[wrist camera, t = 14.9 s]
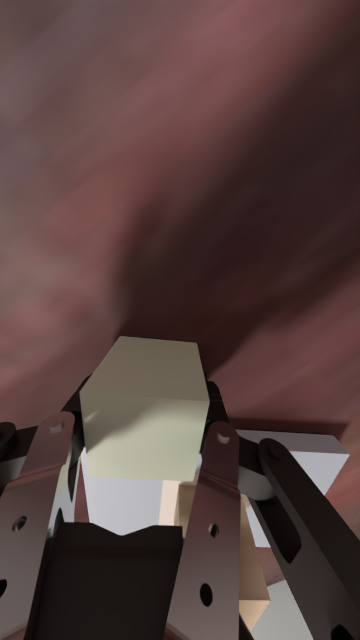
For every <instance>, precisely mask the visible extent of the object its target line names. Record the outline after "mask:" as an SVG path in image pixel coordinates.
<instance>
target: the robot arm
mask: <svg viewBox="0 0 360 640" xmlns="http://www.w3.org/2000/svg"><path fill="white" fill-rule="evenodd" d="M92 374H93V373H92ZM92 374H91V375H92ZM91 375H89V376H88V377H86V378H85V380H84V381H83V382H82V384H81V386H79V388H78V389H77V391H76V392H75V393H74V394H73V396H72V397H71V398H70V399H69V401H68V402H67V403H66V405H65V406H64V407H63V409H62V410H61V411H60V412H58V413H55V414H52V415H50V416H49V417H47V418H46V419H44V420H43V421H42V422H41V423H40V425H39V426H35V427H30V428H25V429H20V430H16V427H15V425H14V424H13V423H11V422H2V423H0V640H254V639H253V637H252V635H251V633H250V631H249V629H248V628H247V626H246V624H245V622H244V620H243V618H242V617H241V615H240V613H239V581H240V522H241V494H244V495H246V496H247V498H248V500H249V502H250V504H251V506H252V508H253V511H254V513H255V515H256V517H257V519H258V521H259V523H260V526H261V528H262V530H263V532H264V534H265V536H266V538H267V541H268V543H269V545H270V547H271V549H272V551H273V553H274V555H275V558H276V560H277V562H278V564H279V566H280V568H281V570H282V573H283V575H284V577H285V579H286V581H287V583H288V585H289V588H290V590H291V592H292V594H293V596H294V598H295V600H296V602H297V605H298V607H299V609H300V611H301V613H302V615H303V617H304V619H305V622H306V624H307V626H308V628H309V630H310V632H311V635H312V637H313V639H314V640H360V540H359V539H358V538H357V537H356V535H355V534H354V533H353V532H352V530H351V529H350V528H349V526H348V525H347V524H346V523H345V521H344V520H343V519H342V518H341V516H340V515H339V514H338V512H337V511H336V510H335V509H334V507H333V506H332V505H331V504H330V502H329V501H328V500H327V499H326V497H325V496H324V495H323V493H322V492H321V491H320V490H319V488H318V487H317V486H316V485H315V483H314V482H313V481H312V479H311V478H310V477H309V476H308V474H307V473H306V472H305V471H304V469H303V468H302V467H301V466H300V464H299V463H298V462H297V460H296V459H295V458H294V457H293V455H292V454H291V453H290V452H289V450H288V449H287V448H286V447H285V446H284V445H283V444H281V443H280V442H278V441H276V440H274V439H271V438H264V439H262V440H260V442H259V444H258V443H256V442H253V441H250V440H248V439H245V438H243V437H241V436H240V435H238V433H237V431H236V430H235V428H234V427H233V426H231V425H230V423H229V420H228V417H227V414H226V410H225V407H224V404H223V401H222V398H221V395H220V391H219V388H218V387H217V385H216V384H215V383H214V382H212V381H207V376H206V373H204V378H205V382H206V387H207V391H208V396H209V400H210V403H209V408H208V413H207V417H206V422H205V427H204V432H203V436H202V441H201V446H200V451H199V454H201V458H202V463H201V467H200V472H199V476H198V481H197V485H196V490H195V494H194V499H193V503H192V508H191V512H190V517H189V522H188V526H187V531H186V535H185V538H184V537H183V526H171V525H152V526H149V527H146V528H143V529H140V530H137V531H134V532H131V533H128V534H125V535H118V534H115V533H113V532H111V531H109V530H107V529H105V528H103V527H100V526H98V525H96V524H94V523H83V522H74V506H75V498H76V490H77V482H78V475H79V467H80V455H81V453H82V451H83V449H84V448H85V439H84V430H83V420H82V411H81V402H80V391H81V389H82V388H83V386H84V385H85V384H86V382H87V381H88V380H89V378H90V377H91Z"/></svg>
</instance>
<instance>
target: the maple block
mask: <svg viewBox="0 0 360 640" xmlns="http://www.w3.org/2000/svg"><path fill="white" fill-rule="evenodd" d="M195 490H196V485H179V486H178V493H177V500H176V507H175V513H174V526H183V537H184V538H185V535H186V531H187V526H188V522H189V517H190V512H191V508H192V503H193V499H194V494H195ZM269 602H270V597H269V594H268V590H267V586H266V583H265V579H264V575H263V571H262V568H261V564H260V560H259V557H258V553H257V549H256V546H255V542H254V538H253V534H252V531H251V527H250V523H249V520H248V516H247V512H246V509H245V505H244V501H243V497H242V494H241V522H240V581H239V613H240V615H241V617H242V618H243V620H244V622H245V624H246V626H247V628H248V629H249V631H250V630H251V629H252V627H253V626H254V625H255V623H256V621H257V620H258V618H259V617H260V615H261V614H262V612H263V611H264V609H265V608H266V606H267V605H268V603H269Z"/></svg>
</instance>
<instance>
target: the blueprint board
mask: <svg viewBox="0 0 360 640" xmlns="http://www.w3.org/2000/svg"><path fill="white" fill-rule="evenodd" d="M235 430H236V429H235ZM236 431H237V433H238V435H240V436H241V437H243V438H245V439H248V440H250V441H253V442H256V443H258V444H259V442H260V440H262V439H264V438H271V439H274V440H276V441H278V442H280V443H281V444H283V445H284V446H285V447H286V448H287V449H288V450H289V452H290V453H291V454H292V455H293V457H294V458H295V459H296V460H297V462H298V463H299V464H300V466H301V467H302V468H303V469H304V471H305V472H306V473H307V474H308V476H309V477H310V478H311V479H312V481H313V482H314V483H315V485H316V486H317V487H318V488H319V490H320V491H321V492H322V493H323V495H325V494H326V492H327V491H328V489H329V487H330V486H331V484H332V483H333V481H334V479H335V478H336V476H337V474H338V473H339V471H340V470H341V468H342V466H343V465H344V463H345V462H346V460H347V458H348V457H349V455H350V454H349V453H348V452H347V450H346V449H345V448H344V447H343V446H342V445H341V444H340V442H339V441H338V440H337V439H336V438H335V437H334V436H333V435H320V434H303V433H286V432H269V431H252V430H236ZM81 462H82V469H83V476H84V484H85V491H86V498H87V505H88V513H89V520H90V523H94V524H96V525H98V526H100V527H103V528H105V529H107V530H109V531H111V532H113V533H115V534H118V535H125V534H128V533H131V532H134V531H137V530H140V529H143V528H146V527H149V526H152V525H171V526H174V513H175V507H176V500H177V493H178V486H179V485H197V481H198V476H199V472H200V467H201V463H202V458H201V454H199V456H198V460H197V465H196V470H195V475H194V480H193V482H189V481H170V480H150V479H131V478H112V477H93V476H88V467H87V458H86V448H84V449H83V451H82V453H81ZM242 497H243V501H244V505H245V509H246V512H247V516H248V520H249V523H250V527H251V531H252V534H253V538H254V542H255V546H256V547H270V545H269V543H268V541H267V538H266V536H265V534H264V532H263V530H262V528H261V526H260V523H259V521H258V519H257V517H256V515H255V513H254V511H253V508H252V506H251V504H250V502H249V500H248V498H247V496H246V495H244V494H242Z"/></svg>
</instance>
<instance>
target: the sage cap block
mask: <svg viewBox="0 0 360 640" xmlns="http://www.w3.org/2000/svg"><path fill="white" fill-rule="evenodd" d="M80 402H81V411H82V420H83V430H84V439H85V448H86V458H87V467H88V476H93V477H112V478H131V479H150V480H170V481H189V482H193V480H194V475H195V470H196V465H197V460H198V456H199V451H200V446H201V441H202V436H203V432H204V427H205V422H206V417H207V413H208V408H209V403H210V400H209V396H208V391H207V387H206V382H205V378H204V373H203V369H202V365H201V360H200V356H199V351H198V347H197V343H192V342H181V341H170V340H159V339H148V338H137V337H126V336H120V337H119V338H118V340H117V341H116V342H115V344H114V345H113V347H112V348H111V349H110V351H109V352H108V353H107V355H106V356H105V358H104V359H103V360H102V362H101V363H100V364H99V366H98V367H97V369H96V370H95V371H94V373H93V374H92V375H91V377H90V378H89V380H88V381H87V382H86V384H85V385H84V386H83V388H82V389H81V391H80Z"/></svg>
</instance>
